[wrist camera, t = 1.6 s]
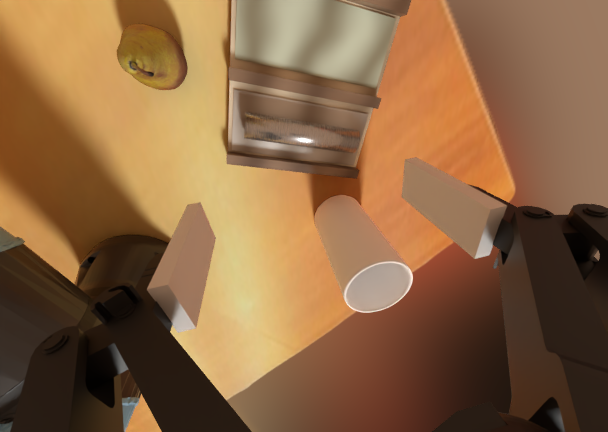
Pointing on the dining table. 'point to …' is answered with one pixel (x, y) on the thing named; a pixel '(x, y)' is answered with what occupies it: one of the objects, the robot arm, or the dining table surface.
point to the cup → (361, 256)
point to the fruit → (152, 57)
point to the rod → (300, 133)
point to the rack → (307, 74)
